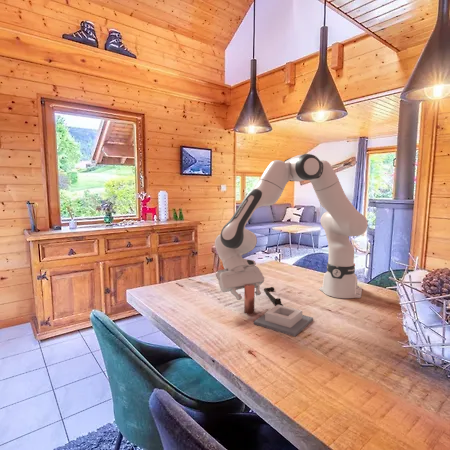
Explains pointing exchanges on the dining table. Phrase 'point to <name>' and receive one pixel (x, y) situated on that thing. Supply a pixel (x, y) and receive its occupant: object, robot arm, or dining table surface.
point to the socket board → (285, 329)
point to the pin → (249, 298)
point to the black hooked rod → (275, 301)
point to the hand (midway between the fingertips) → (249, 296)
